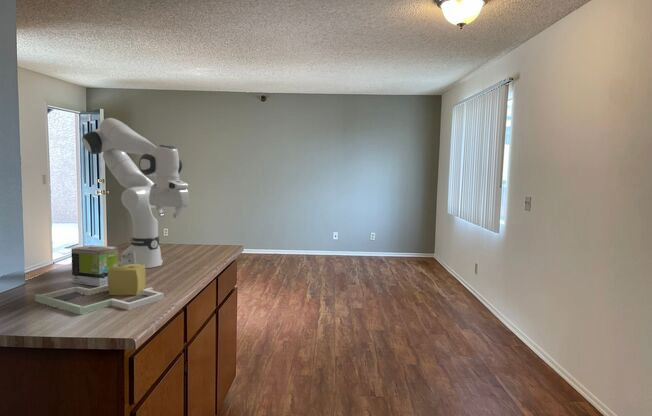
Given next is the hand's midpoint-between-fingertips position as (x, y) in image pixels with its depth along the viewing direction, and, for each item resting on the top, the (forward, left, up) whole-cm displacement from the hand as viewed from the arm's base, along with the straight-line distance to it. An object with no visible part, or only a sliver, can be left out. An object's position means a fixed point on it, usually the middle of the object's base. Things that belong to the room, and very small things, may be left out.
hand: (168, 217), depth 170 cm
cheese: (-1, -19, -28) cm, 34 cm away
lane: (-1, -29, -27) cm, 40 cm away
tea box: (-24, -17, -28) cm, 40 cm away
